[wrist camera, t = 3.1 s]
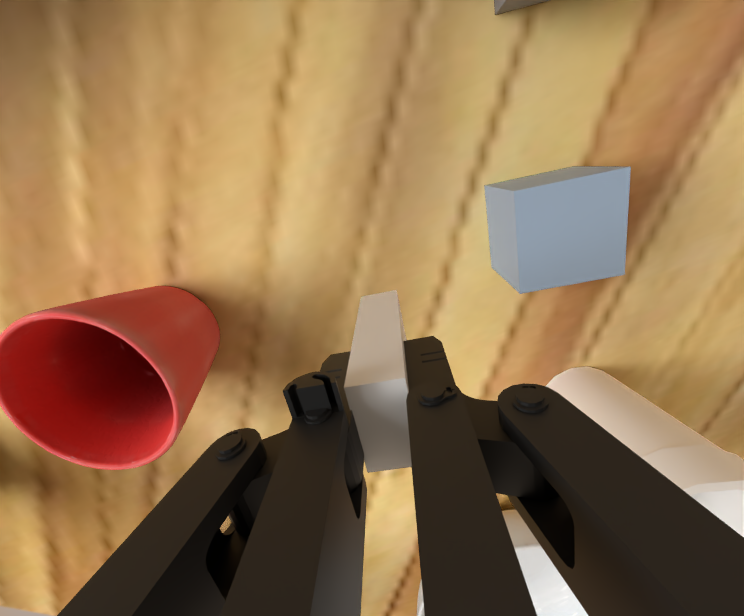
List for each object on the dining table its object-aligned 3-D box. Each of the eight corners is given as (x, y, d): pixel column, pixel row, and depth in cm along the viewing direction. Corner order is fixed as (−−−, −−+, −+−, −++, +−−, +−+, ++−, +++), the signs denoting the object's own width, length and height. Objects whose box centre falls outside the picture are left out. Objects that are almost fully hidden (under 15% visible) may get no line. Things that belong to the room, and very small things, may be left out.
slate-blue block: (484, 185, 25) (513, 191, 19) (573, 166, 24) (630, 166, 18) (491, 267, 27) (519, 293, 21) (572, 251, 26) (624, 274, 21)
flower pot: (223, 260, 27) (144, 307, 18) (250, 381, 31) (197, 469, 22) (90, 268, 28) (-51, 318, 19) (134, 386, 32) (36, 474, 23)
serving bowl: (477, 626, 44) (493, 705, 38) (372, 534, 38) (371, 608, 32) (639, 561, 39) (690, 639, 32) (547, 442, 33) (587, 509, 27)
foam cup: (537, 345, 29) (647, 473, 17) (649, 353, 29) (838, 487, 17) (512, 436, 33) (589, 595, 21) (612, 443, 33) (747, 606, 21)
